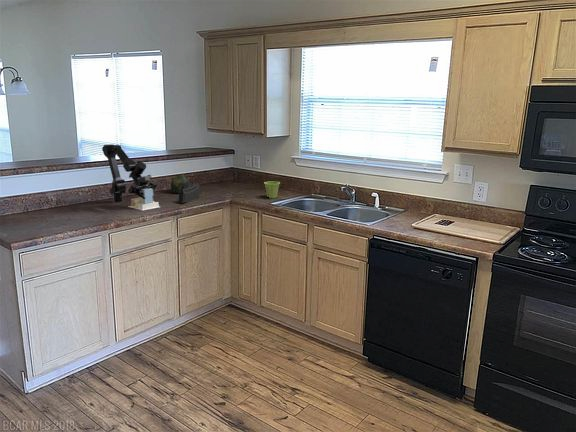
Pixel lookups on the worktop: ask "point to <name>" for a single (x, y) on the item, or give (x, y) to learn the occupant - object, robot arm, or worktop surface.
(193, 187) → the magazine
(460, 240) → the worktop surface
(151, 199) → the blue rectangular block
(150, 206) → the rack
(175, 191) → the squash
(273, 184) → the plant pot
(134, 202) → the offcut stack
